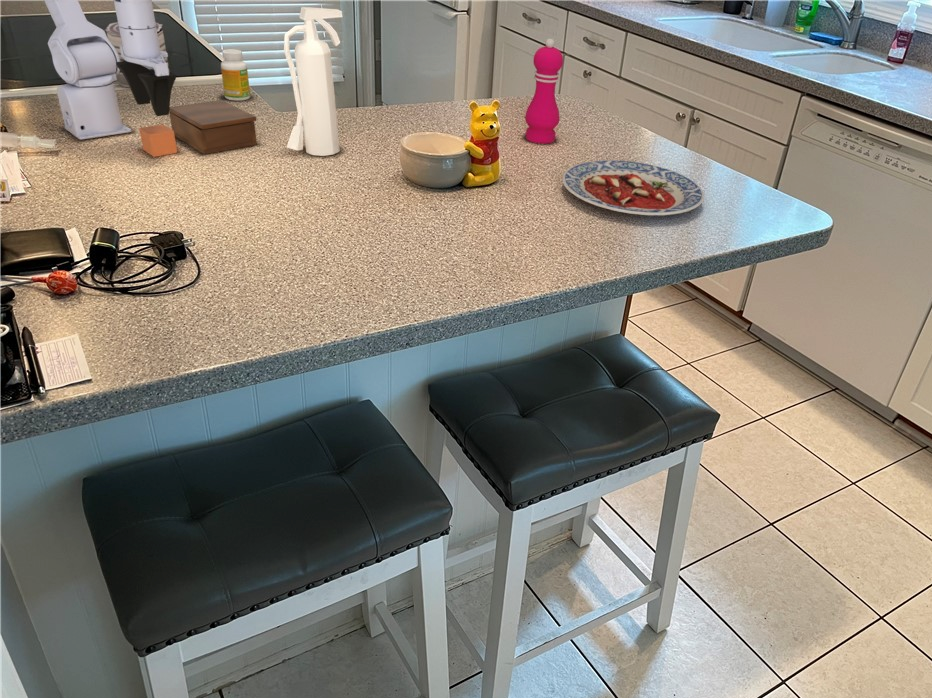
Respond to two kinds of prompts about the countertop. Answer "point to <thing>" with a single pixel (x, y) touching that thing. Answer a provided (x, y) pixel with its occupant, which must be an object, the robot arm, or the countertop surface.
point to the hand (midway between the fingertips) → (152, 109)
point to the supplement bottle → (235, 76)
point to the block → (158, 140)
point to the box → (214, 135)
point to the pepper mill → (544, 95)
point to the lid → (212, 114)
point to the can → (116, 41)
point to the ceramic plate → (633, 187)
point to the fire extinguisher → (314, 84)
